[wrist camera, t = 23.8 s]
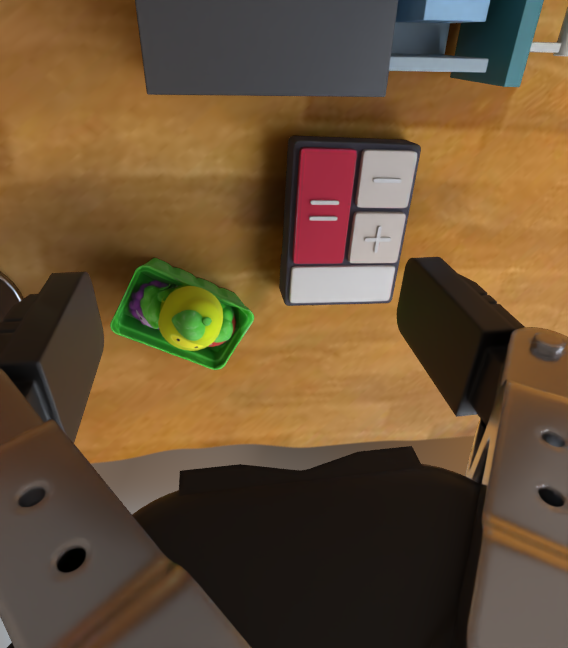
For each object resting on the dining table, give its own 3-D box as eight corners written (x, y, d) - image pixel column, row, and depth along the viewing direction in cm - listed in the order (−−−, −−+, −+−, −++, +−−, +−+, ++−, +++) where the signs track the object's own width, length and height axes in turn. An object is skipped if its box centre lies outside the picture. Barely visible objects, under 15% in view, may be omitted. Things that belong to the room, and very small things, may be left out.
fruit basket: (115, 303, 44) (92, 375, 35) (150, 228, 40) (135, 286, 31) (218, 343, 48) (222, 417, 39) (258, 278, 45) (273, 342, 36)
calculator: (426, 145, 36) (394, 307, 44) (406, 138, 40) (379, 288, 48) (295, 141, 35) (285, 310, 42) (286, 134, 38) (278, 290, 46)
